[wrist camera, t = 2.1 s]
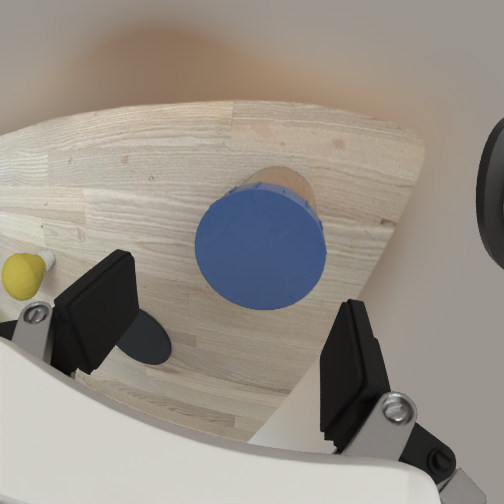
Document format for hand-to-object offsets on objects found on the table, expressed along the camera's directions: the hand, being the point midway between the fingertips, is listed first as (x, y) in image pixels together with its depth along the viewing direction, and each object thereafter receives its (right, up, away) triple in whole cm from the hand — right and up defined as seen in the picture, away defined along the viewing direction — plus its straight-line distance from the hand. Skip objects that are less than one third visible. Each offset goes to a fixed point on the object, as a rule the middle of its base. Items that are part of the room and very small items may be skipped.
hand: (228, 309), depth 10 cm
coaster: (-16, -10, +25) cm, 31 cm away
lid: (+1, +2, +4) cm, 5 cm away
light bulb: (-30, +2, +23) cm, 38 cm away
